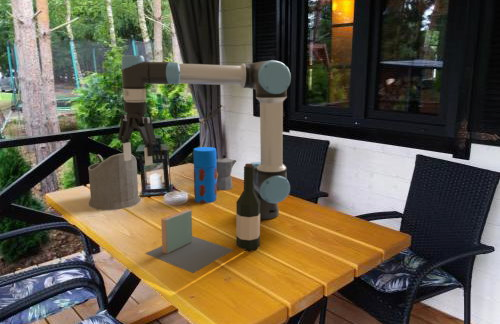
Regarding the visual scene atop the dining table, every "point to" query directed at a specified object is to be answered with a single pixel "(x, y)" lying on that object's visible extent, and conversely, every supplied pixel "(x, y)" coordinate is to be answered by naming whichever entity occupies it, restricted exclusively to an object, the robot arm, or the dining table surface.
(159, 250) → the mat
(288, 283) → the dining table surface
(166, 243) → the tile
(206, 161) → the thermos
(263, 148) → the robot arm
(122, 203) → the pitcher
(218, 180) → the coffeepot
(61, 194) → the dining table surface
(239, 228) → the wine bottle
